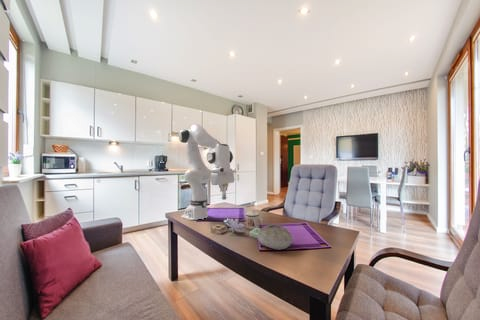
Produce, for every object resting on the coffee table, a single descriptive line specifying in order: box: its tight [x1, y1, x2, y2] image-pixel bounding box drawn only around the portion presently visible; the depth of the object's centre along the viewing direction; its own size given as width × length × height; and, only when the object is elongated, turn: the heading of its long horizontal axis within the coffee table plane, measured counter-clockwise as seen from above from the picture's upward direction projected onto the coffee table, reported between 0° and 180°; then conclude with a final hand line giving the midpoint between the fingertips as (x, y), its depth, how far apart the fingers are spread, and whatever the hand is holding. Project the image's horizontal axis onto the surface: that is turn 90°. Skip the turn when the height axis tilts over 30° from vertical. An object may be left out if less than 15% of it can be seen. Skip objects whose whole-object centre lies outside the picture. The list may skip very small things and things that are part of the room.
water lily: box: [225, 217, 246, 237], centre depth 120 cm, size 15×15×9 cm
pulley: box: [223, 218, 235, 229], centre depth 133 cm, size 7×7×5 cm
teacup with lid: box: [245, 209, 263, 230], centre depth 132 cm, size 12×9×12 cm
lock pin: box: [221, 183, 227, 200], centre depth 124 cm, size 4×4×10 cm
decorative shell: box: [257, 223, 293, 251], centre depth 102 cm, size 18×18×10 cm
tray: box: [248, 227, 261, 239], centre depth 117 cm, size 9×9×2 cm
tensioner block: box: [210, 224, 227, 235], centre depth 125 cm, size 7×7×3 cm
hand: (223, 191), depth 124 cm, fingers closed on lock pin, 2 cm apart
